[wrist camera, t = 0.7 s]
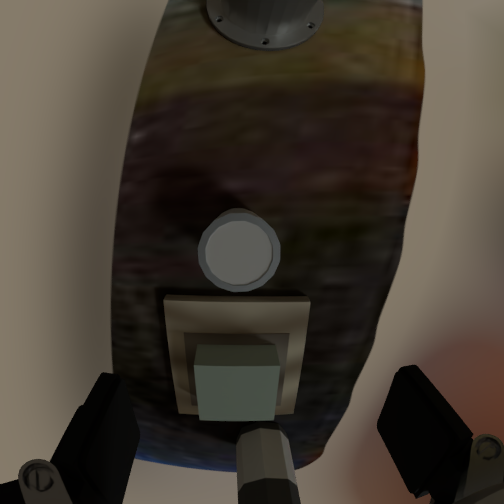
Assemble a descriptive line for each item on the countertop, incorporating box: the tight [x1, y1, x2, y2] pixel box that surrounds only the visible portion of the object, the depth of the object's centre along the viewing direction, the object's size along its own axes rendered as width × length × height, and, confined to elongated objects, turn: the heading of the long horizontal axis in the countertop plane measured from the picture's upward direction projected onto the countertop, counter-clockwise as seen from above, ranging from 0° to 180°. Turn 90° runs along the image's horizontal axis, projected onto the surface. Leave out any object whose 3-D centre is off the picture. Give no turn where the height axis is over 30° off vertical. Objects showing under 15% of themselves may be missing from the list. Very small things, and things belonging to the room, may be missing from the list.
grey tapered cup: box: [198, 208, 280, 292], centre depth 28 cm, size 7×7×7 cm
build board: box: [164, 295, 310, 415], centre depth 35 cm, size 18×16×2 cm
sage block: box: [194, 344, 280, 421], centre depth 33 cm, size 9×9×4 cm
